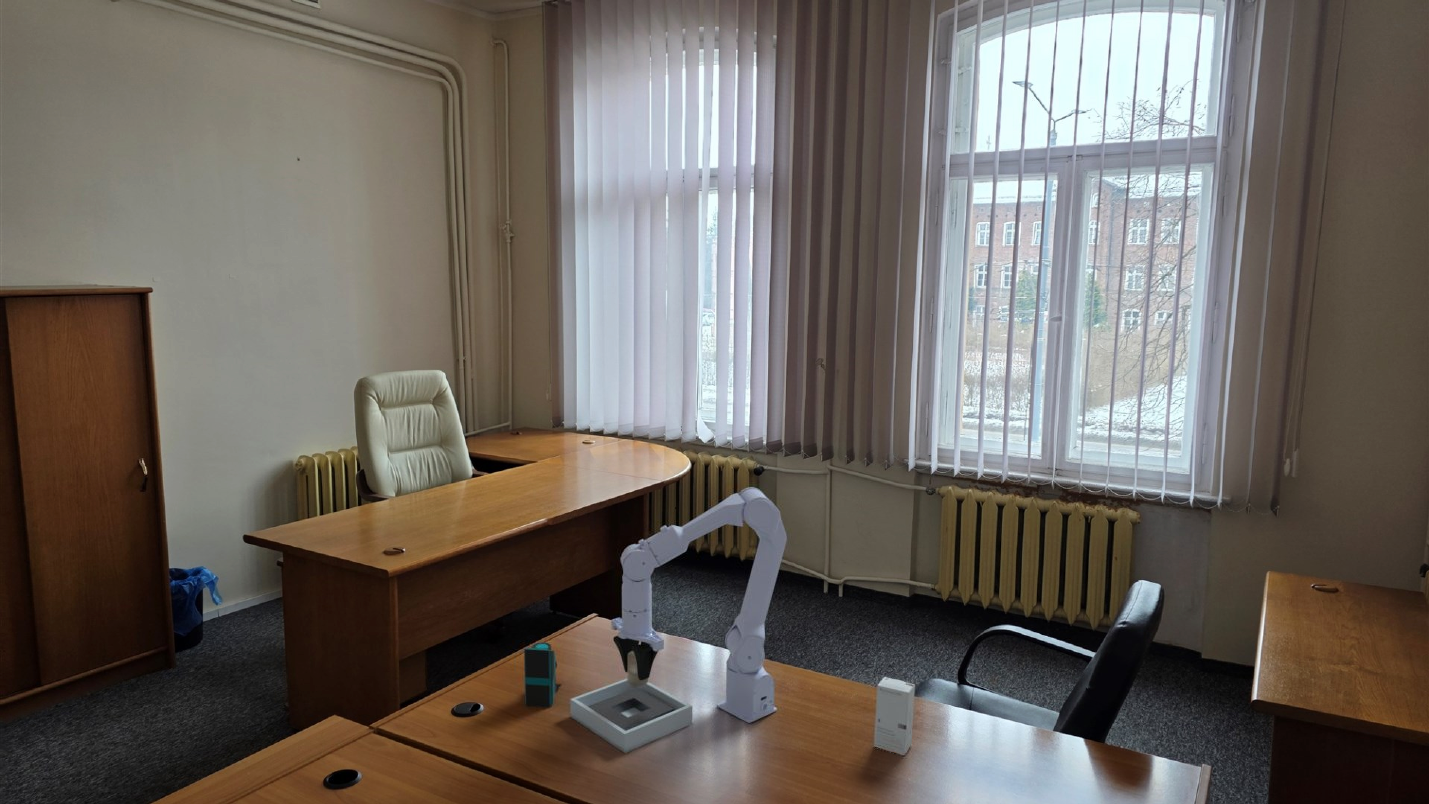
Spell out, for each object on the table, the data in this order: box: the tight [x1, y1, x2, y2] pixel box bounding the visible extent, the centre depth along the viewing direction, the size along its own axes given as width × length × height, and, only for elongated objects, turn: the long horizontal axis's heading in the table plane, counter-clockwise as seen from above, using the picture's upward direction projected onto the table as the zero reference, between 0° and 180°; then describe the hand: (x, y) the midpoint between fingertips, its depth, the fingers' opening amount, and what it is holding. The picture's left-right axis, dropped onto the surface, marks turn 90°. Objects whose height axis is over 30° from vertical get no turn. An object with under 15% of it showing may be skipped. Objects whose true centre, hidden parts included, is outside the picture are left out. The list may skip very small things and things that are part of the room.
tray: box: [569, 678, 693, 754], centre depth 162 cm, size 18×16×4 cm
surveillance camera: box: [523, 642, 562, 709], centre depth 171 cm, size 6×12×10 cm
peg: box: [626, 651, 649, 686], centre depth 163 cm, size 4×4×6 cm
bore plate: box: [587, 688, 674, 731], centre depth 162 cm, size 12×12×2 cm
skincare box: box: [873, 676, 916, 755], centre depth 152 cm, size 6×4×12 cm
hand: (636, 674), depth 163 cm, fingers closed on peg, 4 cm apart
